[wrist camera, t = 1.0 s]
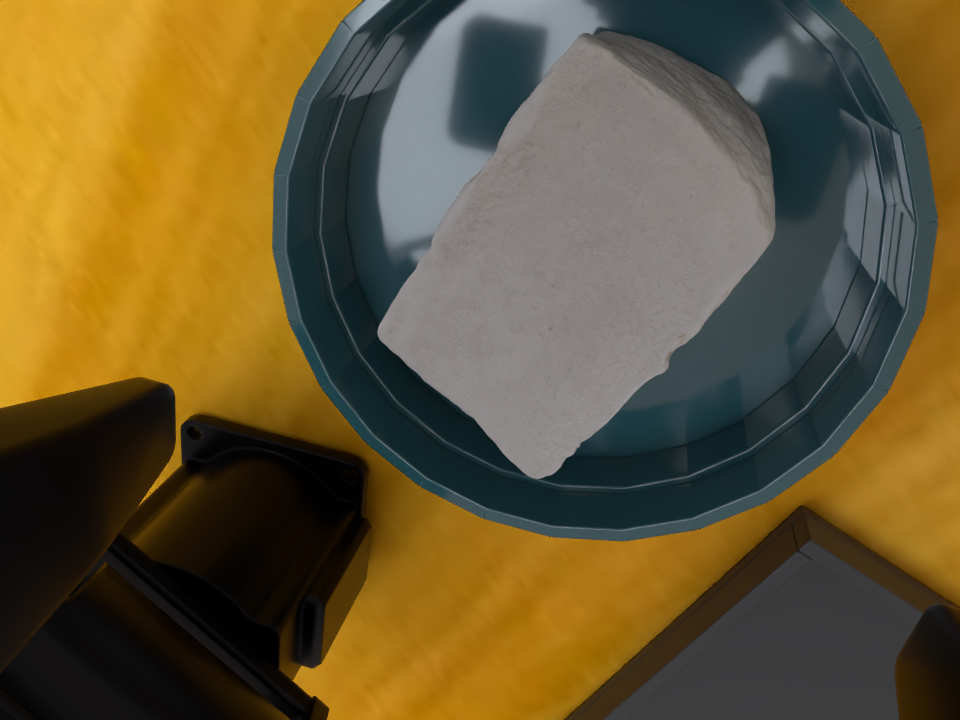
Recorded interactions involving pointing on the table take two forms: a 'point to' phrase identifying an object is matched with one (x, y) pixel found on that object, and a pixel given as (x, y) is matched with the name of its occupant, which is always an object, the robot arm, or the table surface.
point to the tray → (779, 638)
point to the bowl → (726, 333)
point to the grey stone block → (587, 246)
